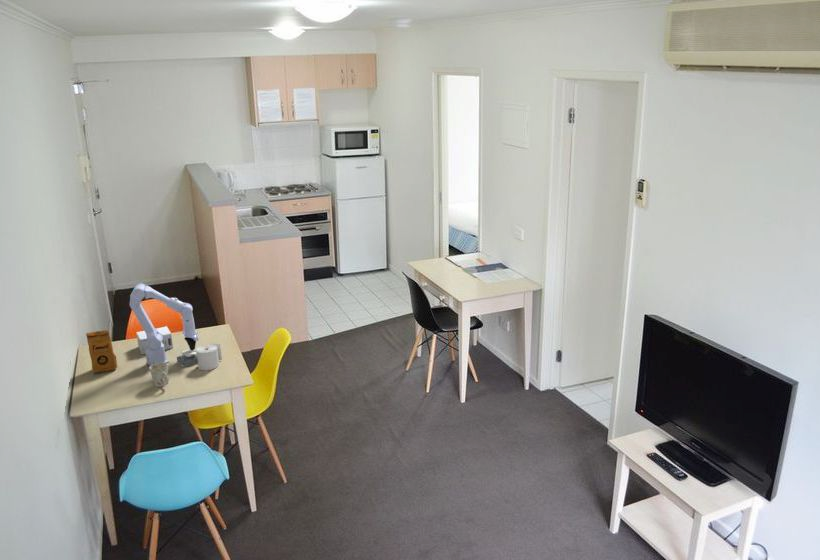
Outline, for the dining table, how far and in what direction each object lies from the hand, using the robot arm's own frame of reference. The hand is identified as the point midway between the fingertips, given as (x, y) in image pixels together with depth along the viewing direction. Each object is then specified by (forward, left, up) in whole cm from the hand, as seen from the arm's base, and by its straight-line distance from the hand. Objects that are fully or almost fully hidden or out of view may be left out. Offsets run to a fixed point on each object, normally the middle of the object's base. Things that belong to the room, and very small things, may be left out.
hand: (192, 349), depth 356 cm
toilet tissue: (+2, -14, -6) cm, 15 cm away
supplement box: (-8, +30, -6) cm, 32 cm away
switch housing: (-3, -2, -5) cm, 7 cm away
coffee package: (-39, +21, -6) cm, 45 cm away
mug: (-25, -19, -6) cm, 32 cm away
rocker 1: (-3, 0, -1) cm, 3 cm away
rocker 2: (-3, -4, -1) cm, 5 cm away
